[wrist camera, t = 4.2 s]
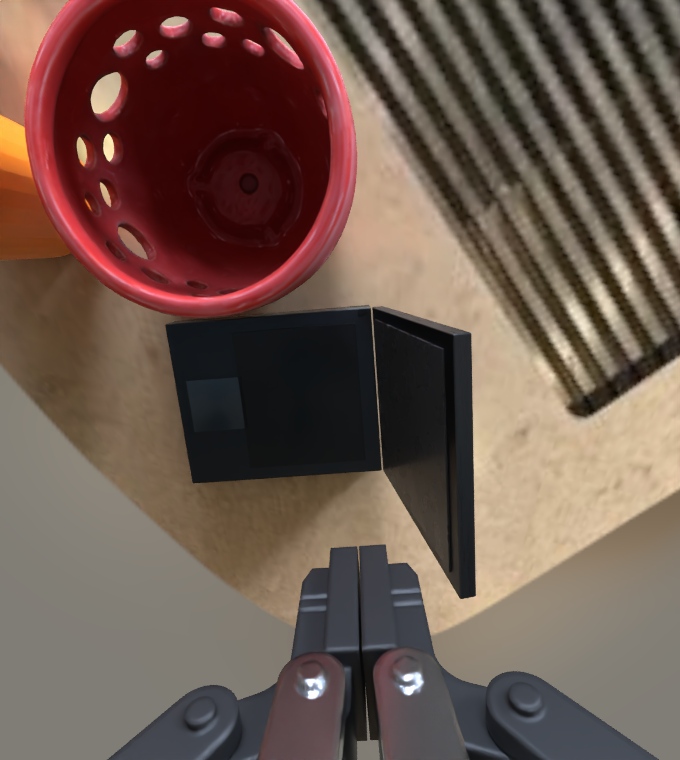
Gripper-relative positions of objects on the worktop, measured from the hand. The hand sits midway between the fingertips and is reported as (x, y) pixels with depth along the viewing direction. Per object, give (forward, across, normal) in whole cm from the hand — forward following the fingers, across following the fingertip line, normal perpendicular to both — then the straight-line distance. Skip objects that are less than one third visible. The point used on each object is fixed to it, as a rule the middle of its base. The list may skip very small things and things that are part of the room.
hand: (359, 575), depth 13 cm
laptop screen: (+12, -3, 0) cm, 12 cm away
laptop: (+20, +5, 0) cm, 21 cm away
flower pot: (+20, +6, -13) cm, 25 cm away
